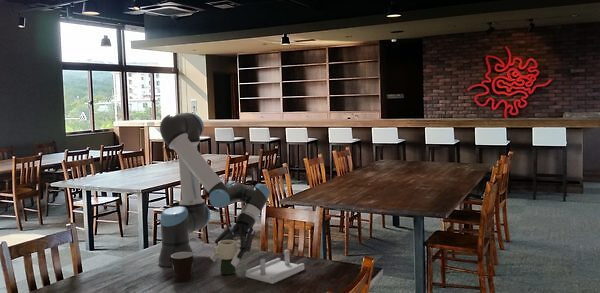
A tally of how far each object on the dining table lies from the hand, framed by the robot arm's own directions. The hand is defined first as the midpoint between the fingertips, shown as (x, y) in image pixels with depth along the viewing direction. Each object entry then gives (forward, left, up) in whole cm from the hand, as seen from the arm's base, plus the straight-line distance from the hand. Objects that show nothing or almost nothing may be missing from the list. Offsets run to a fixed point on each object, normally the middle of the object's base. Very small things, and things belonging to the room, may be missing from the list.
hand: (222, 262), depth 213 cm
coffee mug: (-10, -11, -5) cm, 16 cm away
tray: (+16, +14, -5) cm, 22 cm away
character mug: (0, +3, -5) cm, 6 cm away
